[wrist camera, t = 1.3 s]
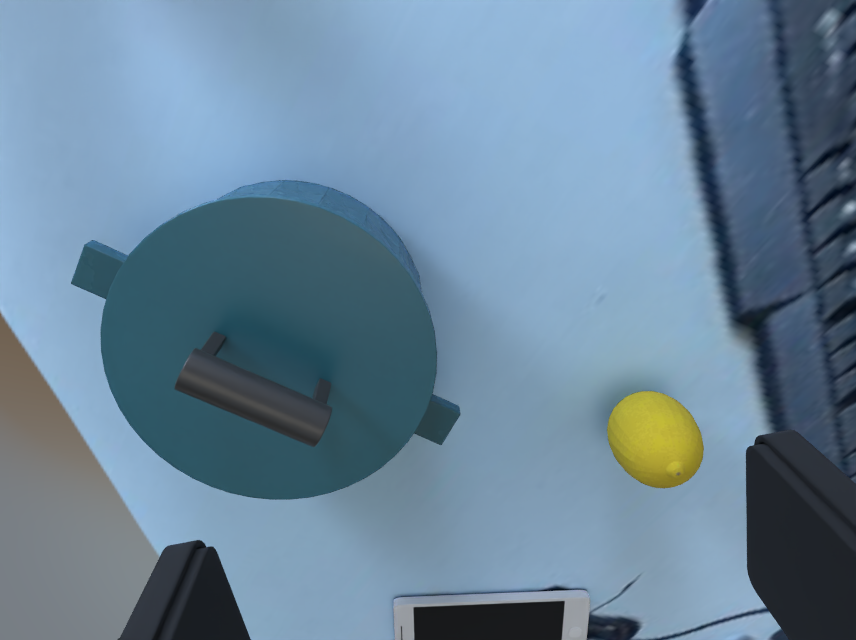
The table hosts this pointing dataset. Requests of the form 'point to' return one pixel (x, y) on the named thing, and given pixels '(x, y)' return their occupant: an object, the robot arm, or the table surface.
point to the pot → (105, 262)
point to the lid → (269, 347)
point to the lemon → (655, 439)
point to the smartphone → (494, 616)
